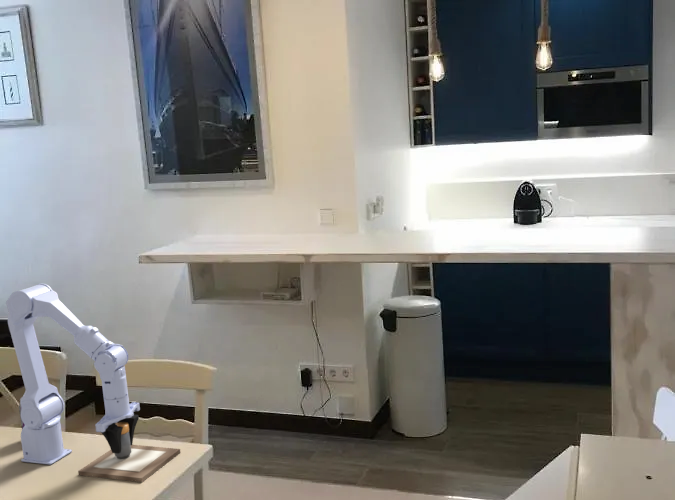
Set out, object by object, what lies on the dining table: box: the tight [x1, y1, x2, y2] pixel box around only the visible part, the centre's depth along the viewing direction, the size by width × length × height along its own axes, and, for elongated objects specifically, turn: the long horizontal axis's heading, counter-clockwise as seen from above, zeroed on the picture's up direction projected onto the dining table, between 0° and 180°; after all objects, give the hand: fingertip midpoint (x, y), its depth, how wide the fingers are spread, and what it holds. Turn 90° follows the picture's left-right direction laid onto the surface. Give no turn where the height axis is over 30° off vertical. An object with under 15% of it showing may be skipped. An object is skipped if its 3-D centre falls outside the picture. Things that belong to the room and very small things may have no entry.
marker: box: [114, 422, 132, 459], centre depth 176 cm, size 4×4×8 cm
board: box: [77, 444, 181, 483], centre depth 175 cm, size 18×16×1 cm
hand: (122, 448), depth 177 cm, fingers closed on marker, 4 cm apart
